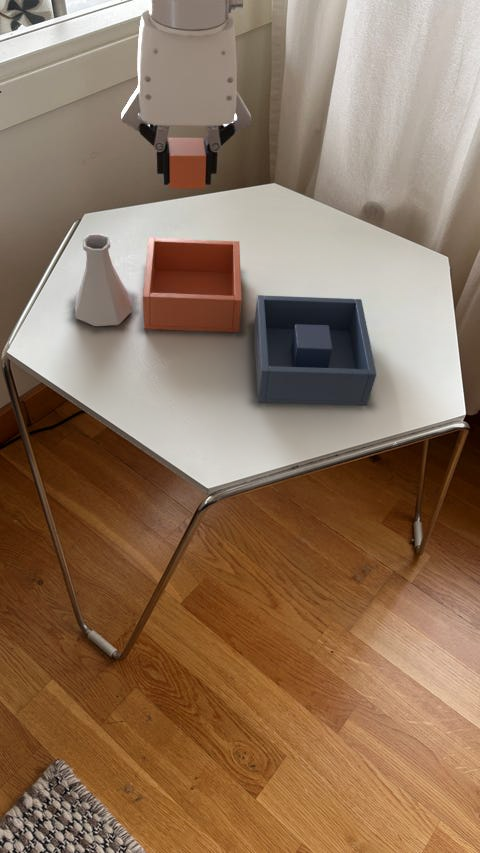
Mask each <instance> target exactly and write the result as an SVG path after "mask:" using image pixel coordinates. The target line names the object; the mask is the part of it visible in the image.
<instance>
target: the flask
mask: <svg viewBox="0 0 480 853" xmlns="http://www.w3.org/2000/svg"><path fill="white" fill-rule="evenodd" d="M82 248H83V251H85V253H86V261H85V267H84V268H85V269H84V272H83V276H82V279H81V283H80V286H79V289H78V292H77V296H76V298H75V301H74V307H75V308H74V310H75V311H74V314H75V317H74V318H75V319H77V320H80V321H82V322H84V323H86V324H89V325H91V326H94V327H104V326H119V325H120V324H121V323H122V322H123V321H124V320H125V319H126V318H127V317H128V316H129V315H130V314H131V313H132V301H131V295H130V293H129V291H128V290H127V288H126V287H125V285H124V283H123V282H122V279H121V278H120V276H119V273H118V272H117V271H116V268H115V267H114V265H113V262H112V260H111V256H110V252H109V249H110V248H111V239H110V236H108V235H105V234H102V233H91V234H87V235H86V237H84V238H83V239H82Z"/></svg>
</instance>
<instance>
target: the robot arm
mask: <svg viewBox="0 0 480 853" xmlns="http://www.w3.org/2000/svg"><path fill="white" fill-rule="evenodd" d="M243 8H244V0H148V9H147V10H145V11H144V12H142V14H141V18H140V23H139V24H140V25H139V31H138V32H139V33H138V34H139V35H138V44H137V46H138V47H137V88H136V89H135V90H134V92H133V94H132V95H131V96H130V98H129V100H128V102H127V104H126V105H125V106H124V108H123V110H122V111H121V122H122V123H123V124H124V125H126V126H128V127H129V128H131V129H132V130H134V131H137V132H138V133H139V135H141V136H142V137H143V138H144V139H145V140H146V141H147V142H149V144H150V145H151V146H153V148H154V150H155V153H156V154H155V155H156V156H155V158H156V174H157V175H162V179H163V186H168V185H170V156H169V153H170V151H169V142H168V136H169V130H170V127H206V131H207V136H206V137H205V139H204V147H205V153H206V178H205V186H211V185H212V175H217V172H218V170H217V169H218V154H219V153H218V152H220V150H221V149H222V146H223V145H224V144H226V142H228V141H229V140H230V139H231V138H232V137H233V136H234V135H235V134H236V133H237V132H239V131H241V130H244V128H246V127H248V126H249V125H251V123H252V122H253V119H252V115H251V112H250V111H249V109H248V108H247V105H246V104H245V102H244V100H243V99H242V97H241V95H240V93H239V92H238V90H237V89H238V88H237V87H238V86H237V84H238V80H237V78H238V77H237V76H238V74H237V71H238V70H237V69H238V66H237V62H238V60H237V45H236V42H237V41H236V31H235V30H236V29H235V22H234V17H233V16H232V15H231V13H232V10H234V11H235V10H236V9H243Z"/></svg>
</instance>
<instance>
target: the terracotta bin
mask: <svg viewBox="0 0 480 853" xmlns="http://www.w3.org/2000/svg"><path fill="white" fill-rule="evenodd" d="M147 239H148V240H147V251H146V260H145V268H144V269H145V271H144V278H143V280H144V281H143V290H142V306H143V307H142V309H143V329H144V330H162V331H164V330H165V331H190V332H191V331H192V332H194V331H195V332H223V333H225V332H226V333H239V332H240V324H241V310H242V301H243V300H242V299H243V298H242V278H241V277H242V276H241V273H242V272H241V248H240V245H241V244H240V240H238V241H237V240H215V239H214V240H213V239H191V238H187V239H186V238H168V237H167V238H165V237H148V238H147Z"/></svg>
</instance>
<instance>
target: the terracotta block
mask: <svg viewBox="0 0 480 853" xmlns="http://www.w3.org/2000/svg"><path fill="white" fill-rule="evenodd" d="M167 141H168V142H169V151H170V153H169V156H170V184H169V189H170V190H186V189H187V190H189V189H190V190H194V189H196V190H197V189H200V190H202V189H203V190H205V189H206V184H205V178H206V153H205V147H204V141H205V139H204V138H203V137H167Z"/></svg>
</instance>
